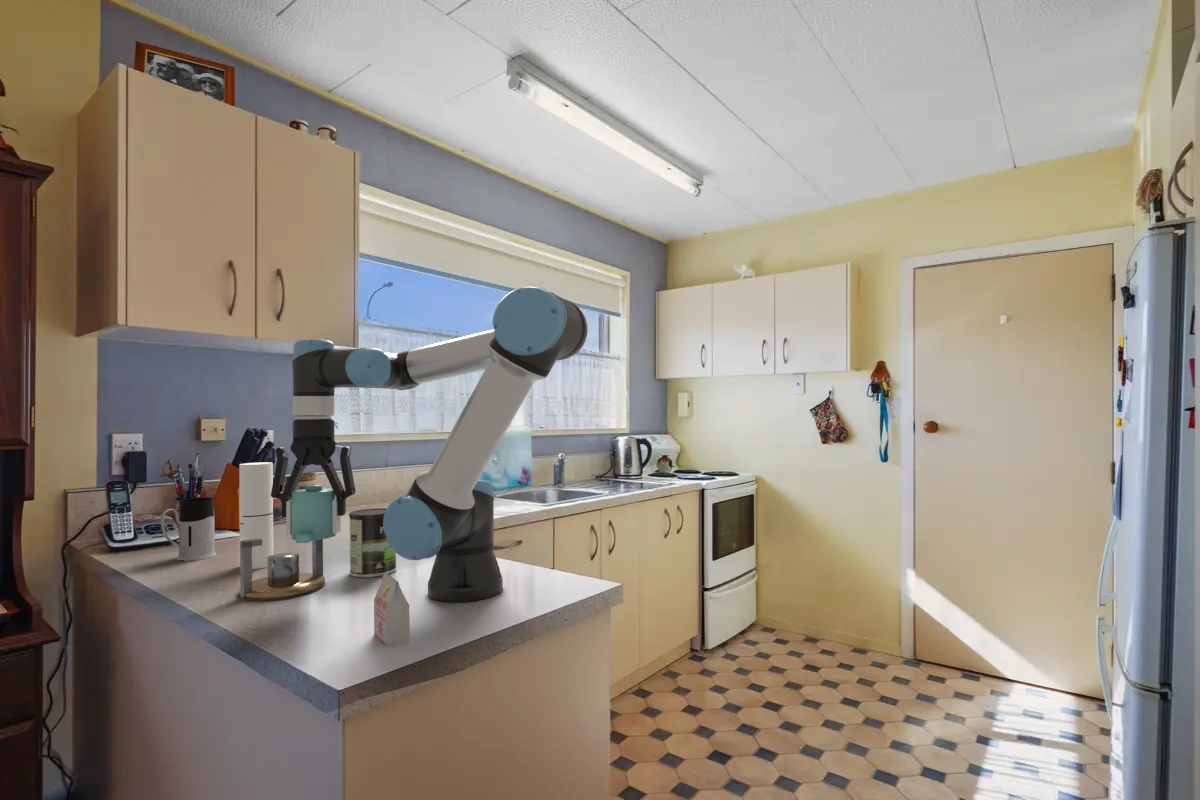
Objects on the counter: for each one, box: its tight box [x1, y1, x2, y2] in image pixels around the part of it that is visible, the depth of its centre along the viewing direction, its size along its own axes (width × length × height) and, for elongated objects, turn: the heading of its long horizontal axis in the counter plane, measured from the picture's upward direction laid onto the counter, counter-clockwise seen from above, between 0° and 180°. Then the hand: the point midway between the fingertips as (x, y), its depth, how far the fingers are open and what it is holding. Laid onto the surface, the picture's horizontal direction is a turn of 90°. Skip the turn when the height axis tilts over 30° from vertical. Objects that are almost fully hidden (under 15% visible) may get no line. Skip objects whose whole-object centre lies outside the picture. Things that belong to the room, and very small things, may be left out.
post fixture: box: [239, 538, 326, 602], centre depth 130 cm, size 16×16×11 cm
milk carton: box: [373, 574, 411, 648], centre depth 101 cm, size 4×7×10 cm, turn 36°
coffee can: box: [348, 507, 397, 578], centre depth 143 cm, size 10×10×14 cm
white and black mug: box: [160, 497, 217, 562], centre depth 158 cm, size 9×14×15 cm, turn 166°
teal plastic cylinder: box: [291, 484, 337, 544], centre depth 122 cm, size 8×12×10 cm, turn 6°
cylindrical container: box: [238, 461, 274, 570], centre depth 151 cm, size 7×7×25 cm
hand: (314, 532), depth 122 cm, fingers closed on teal plastic cylinder, 8 cm apart
